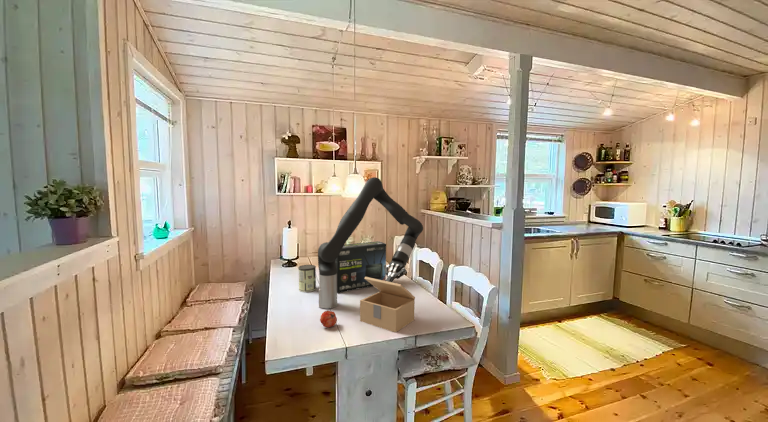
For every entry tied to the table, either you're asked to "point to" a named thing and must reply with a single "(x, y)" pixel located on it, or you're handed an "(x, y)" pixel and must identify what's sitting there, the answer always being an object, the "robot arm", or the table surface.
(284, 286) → the table surface
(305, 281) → the coffee can
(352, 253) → the router box
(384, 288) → the box lid
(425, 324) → the table surface
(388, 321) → the cardboard box
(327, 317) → the pomegranate
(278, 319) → the table surface
